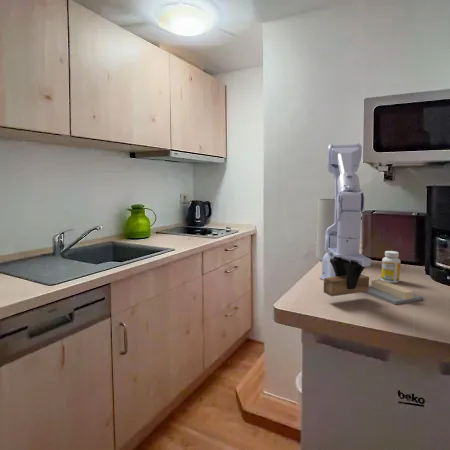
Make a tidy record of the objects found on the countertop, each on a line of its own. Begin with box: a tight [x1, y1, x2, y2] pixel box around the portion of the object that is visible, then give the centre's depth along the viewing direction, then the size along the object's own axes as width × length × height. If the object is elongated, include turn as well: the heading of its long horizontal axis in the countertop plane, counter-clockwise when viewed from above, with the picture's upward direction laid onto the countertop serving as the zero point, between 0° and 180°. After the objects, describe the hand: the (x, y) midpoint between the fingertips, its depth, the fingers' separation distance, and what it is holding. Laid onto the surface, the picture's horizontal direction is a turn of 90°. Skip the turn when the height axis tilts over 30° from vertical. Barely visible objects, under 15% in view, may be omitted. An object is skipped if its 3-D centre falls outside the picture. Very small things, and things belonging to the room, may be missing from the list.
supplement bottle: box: [380, 250, 401, 284], centre depth 109 cm, size 5×5×10 cm
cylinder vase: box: [315, 198, 337, 262], centre depth 138 cm, size 12×12×25 cm
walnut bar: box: [323, 273, 370, 297], centre depth 91 cm, size 4×12×4 cm, turn 110°
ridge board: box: [365, 278, 424, 305], centre depth 95 cm, size 12×10×3 cm
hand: (346, 286), depth 91 cm, fingers closed on walnut bar, 3 cm apart
